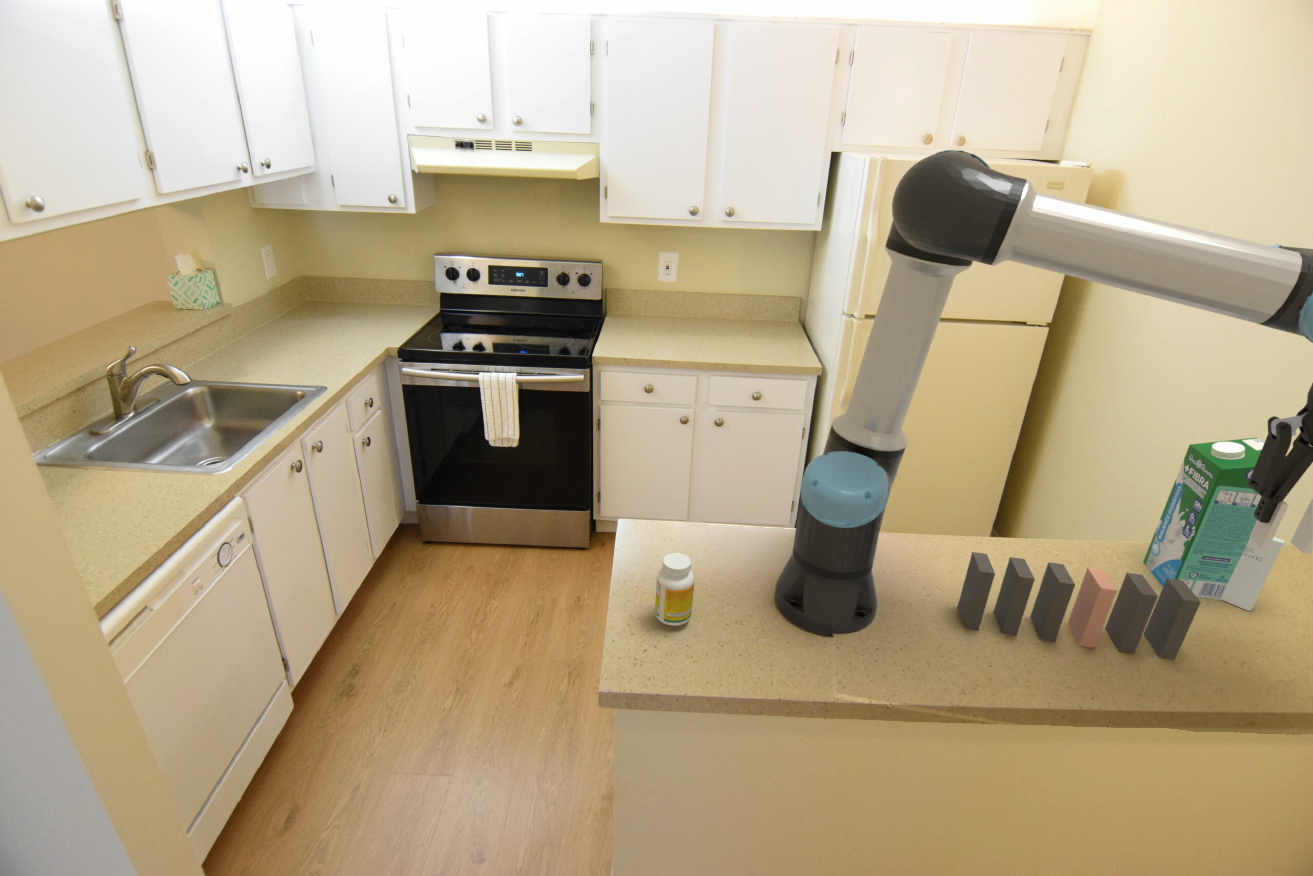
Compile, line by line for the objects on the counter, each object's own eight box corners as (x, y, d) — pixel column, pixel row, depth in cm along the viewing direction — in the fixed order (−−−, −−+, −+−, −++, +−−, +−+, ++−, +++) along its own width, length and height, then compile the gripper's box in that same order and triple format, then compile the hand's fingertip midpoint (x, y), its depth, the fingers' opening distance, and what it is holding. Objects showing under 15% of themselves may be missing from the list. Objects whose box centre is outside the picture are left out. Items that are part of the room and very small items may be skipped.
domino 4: (1079, 645, 98) (1101, 588, 94) (1067, 623, 103) (1087, 567, 99) (1094, 648, 98) (1117, 590, 94) (1082, 625, 103) (1102, 569, 98)
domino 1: (964, 628, 101) (980, 571, 97) (957, 606, 105) (972, 551, 101) (978, 630, 101) (995, 573, 96) (971, 608, 105) (986, 553, 101)
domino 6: (1159, 657, 97) (1184, 599, 93) (1143, 634, 101) (1166, 578, 97) (1174, 660, 96) (1200, 602, 92) (1158, 636, 101) (1182, 580, 97)
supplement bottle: (647, 614, 101) (649, 559, 97) (672, 598, 104) (675, 545, 100) (674, 632, 98) (677, 576, 94) (699, 615, 101) (703, 561, 97)
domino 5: (1118, 651, 98) (1142, 593, 93) (1105, 628, 102) (1126, 572, 98) (1134, 653, 97) (1158, 596, 93) (1119, 630, 102) (1142, 574, 98)
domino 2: (1001, 633, 100) (1019, 576, 96) (993, 612, 105) (1009, 557, 100) (1016, 635, 100) (1034, 579, 96) (1007, 614, 104) (1024, 558, 100)
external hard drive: (1191, 582, 113) (1219, 516, 108) (1252, 608, 107) (1286, 540, 102) (1187, 585, 112) (1216, 520, 107) (1249, 612, 106) (1283, 543, 101)
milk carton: (1141, 563, 118) (1194, 430, 108) (1199, 570, 117) (1258, 436, 107) (1168, 595, 110) (1227, 455, 100) (1230, 603, 109) (1297, 461, 99)
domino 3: (1040, 639, 99) (1059, 582, 95) (1030, 617, 104) (1048, 562, 100) (1055, 641, 99) (1075, 584, 95) (1044, 619, 103) (1063, 564, 99)
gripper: (1299, 378, 78) (1221, 551, 88) (1477, 394, 75) (1376, 571, 85) (1260, 358, 85) (1191, 521, 94) (1422, 372, 82) (1334, 539, 92)
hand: (1279, 545), depth 90 cm, fingers open, 4 cm apart
